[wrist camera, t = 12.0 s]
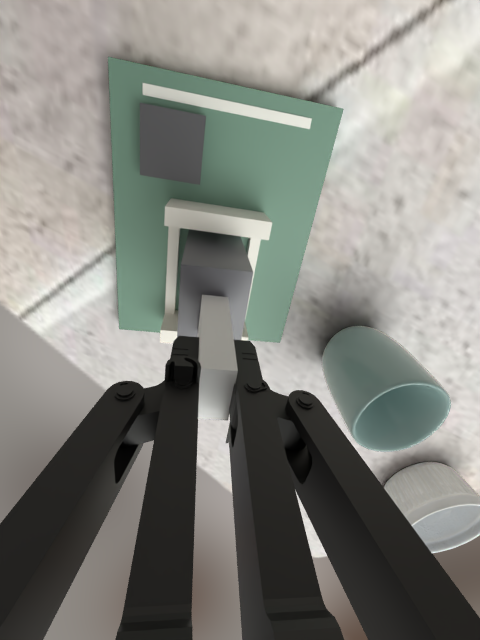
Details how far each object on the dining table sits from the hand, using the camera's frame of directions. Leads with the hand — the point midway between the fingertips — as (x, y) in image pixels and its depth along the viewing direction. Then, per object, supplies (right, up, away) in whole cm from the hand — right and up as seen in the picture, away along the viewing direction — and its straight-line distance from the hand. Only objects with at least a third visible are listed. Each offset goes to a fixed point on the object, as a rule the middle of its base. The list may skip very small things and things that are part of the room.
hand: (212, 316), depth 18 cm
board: (0, +7, +7) cm, 10 cm away
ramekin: (+29, -25, +29) cm, 48 cm away
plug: (-1, +4, +7) cm, 8 cm away
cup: (+13, -3, +14) cm, 20 cm away
